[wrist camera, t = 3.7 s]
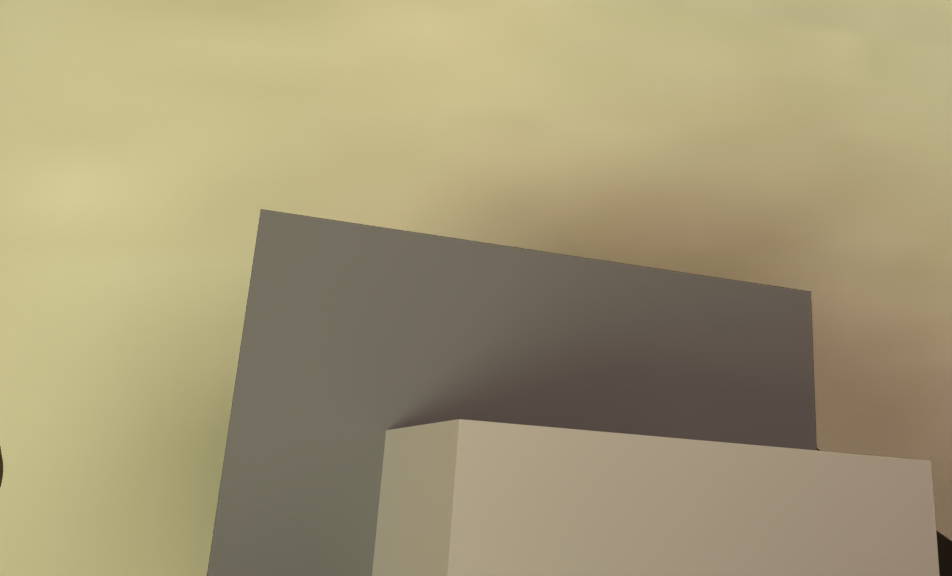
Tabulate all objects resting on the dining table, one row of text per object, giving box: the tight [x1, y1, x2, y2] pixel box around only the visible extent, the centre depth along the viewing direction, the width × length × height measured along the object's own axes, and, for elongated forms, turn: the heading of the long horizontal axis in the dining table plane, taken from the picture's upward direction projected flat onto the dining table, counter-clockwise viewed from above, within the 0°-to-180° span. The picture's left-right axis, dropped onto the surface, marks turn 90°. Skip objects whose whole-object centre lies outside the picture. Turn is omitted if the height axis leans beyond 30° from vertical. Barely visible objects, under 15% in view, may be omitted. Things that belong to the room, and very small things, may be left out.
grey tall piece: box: [207, 209, 939, 576], centre depth 9 cm, size 4×4×13 cm
